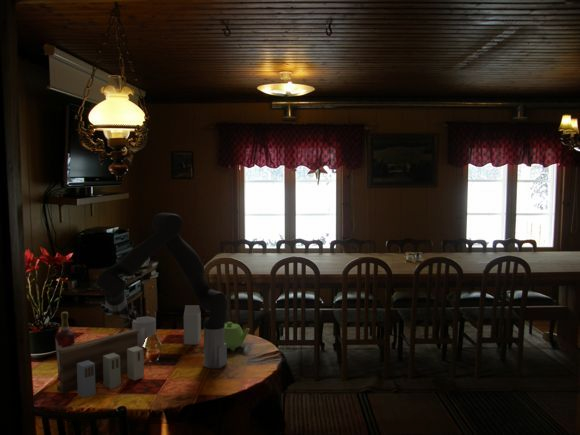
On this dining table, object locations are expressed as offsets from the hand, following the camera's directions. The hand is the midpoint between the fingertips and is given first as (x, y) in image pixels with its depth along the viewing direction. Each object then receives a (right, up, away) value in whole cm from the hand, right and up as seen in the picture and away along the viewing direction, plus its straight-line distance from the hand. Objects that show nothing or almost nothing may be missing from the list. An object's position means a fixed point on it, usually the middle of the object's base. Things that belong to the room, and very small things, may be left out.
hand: (121, 317), depth 200 cm
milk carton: (+21, -21, +41) cm, 51 cm away
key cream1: (+7, -24, -3) cm, 25 cm away
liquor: (-21, -24, -5) cm, 32 cm away
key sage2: (0, -25, -11) cm, 27 cm away
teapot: (+41, -22, +34) cm, 58 cm away
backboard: (-7, -24, -4) cm, 26 cm away
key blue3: (-7, -25, -18) cm, 32 cm away
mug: (-1, -22, +35) cm, 42 cm away
